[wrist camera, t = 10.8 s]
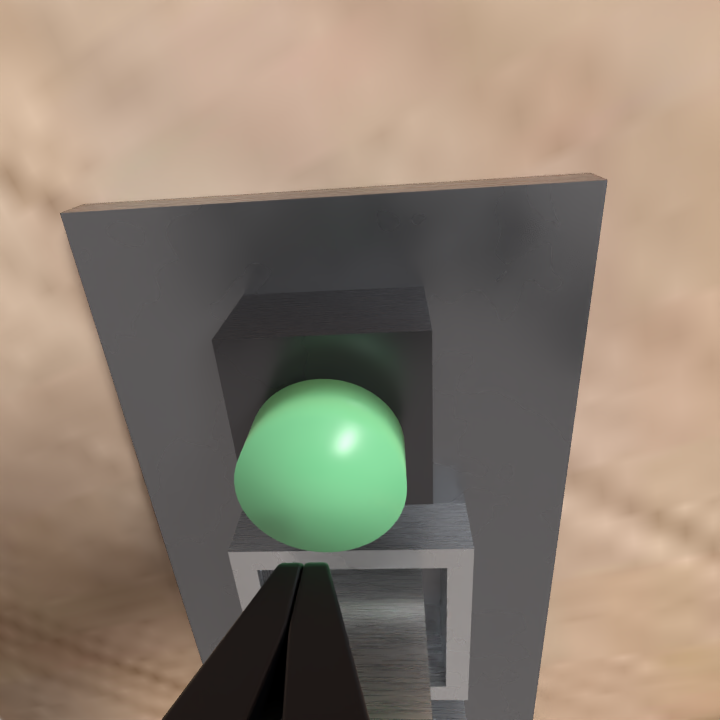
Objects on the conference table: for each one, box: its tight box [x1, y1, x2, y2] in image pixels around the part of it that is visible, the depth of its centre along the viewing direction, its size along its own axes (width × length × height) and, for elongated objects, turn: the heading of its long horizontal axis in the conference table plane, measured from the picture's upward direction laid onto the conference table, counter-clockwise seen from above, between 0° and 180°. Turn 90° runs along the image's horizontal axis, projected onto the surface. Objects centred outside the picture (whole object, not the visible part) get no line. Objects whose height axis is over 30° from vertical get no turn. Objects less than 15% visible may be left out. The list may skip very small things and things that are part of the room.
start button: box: [234, 379, 407, 552], centre depth 12 cm, size 4×4×2 cm
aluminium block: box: [330, 568, 432, 720], centre depth 17 cm, size 4×4×7 cm
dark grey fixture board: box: [60, 173, 607, 720], centre depth 19 cm, size 28×14×4 cm, turn 4°
